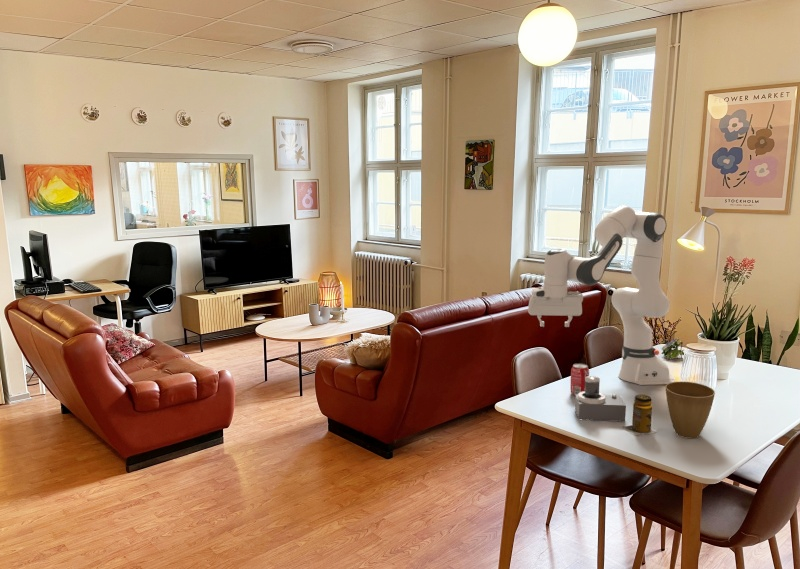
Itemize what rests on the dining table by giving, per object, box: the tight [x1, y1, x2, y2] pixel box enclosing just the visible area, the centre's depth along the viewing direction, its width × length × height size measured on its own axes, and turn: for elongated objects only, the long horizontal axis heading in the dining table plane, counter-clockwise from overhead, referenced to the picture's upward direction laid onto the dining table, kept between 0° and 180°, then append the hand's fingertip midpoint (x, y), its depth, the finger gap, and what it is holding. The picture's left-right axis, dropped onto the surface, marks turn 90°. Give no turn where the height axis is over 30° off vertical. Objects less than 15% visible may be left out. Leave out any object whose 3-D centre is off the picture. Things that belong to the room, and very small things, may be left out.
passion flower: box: [660, 337, 685, 361], centre depth 289 cm, size 11×11×12 cm
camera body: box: [574, 391, 627, 423], centre depth 219 cm, size 16×10×8 cm, turn 82°
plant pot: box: [665, 381, 716, 439], centre depth 201 cm, size 15×15×16 cm
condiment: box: [621, 394, 657, 436], centre depth 206 cm, size 7×8×12 cm
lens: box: [585, 375, 601, 399], centre depth 219 cm, size 5×5×8 cm
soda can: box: [570, 363, 590, 396], centre depth 241 cm, size 7×7×12 cm
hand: (554, 326), depth 234 cm, fingers open, 8 cm apart
